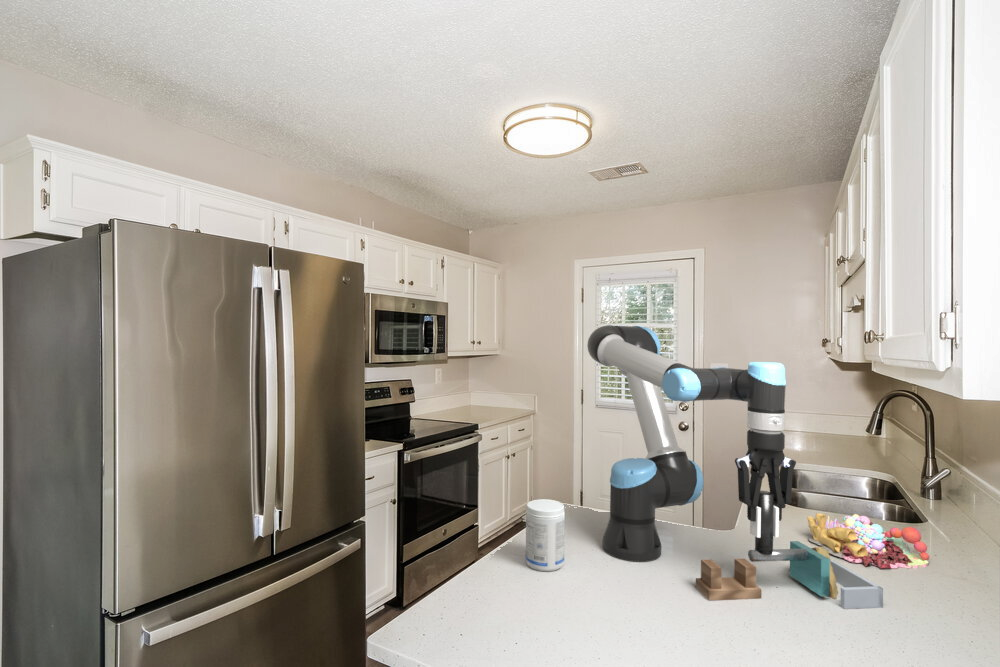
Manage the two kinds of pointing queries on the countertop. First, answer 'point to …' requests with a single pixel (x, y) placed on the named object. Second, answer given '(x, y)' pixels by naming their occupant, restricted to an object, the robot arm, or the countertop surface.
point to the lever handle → (790, 552)
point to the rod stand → (728, 581)
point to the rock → (832, 585)
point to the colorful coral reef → (868, 542)
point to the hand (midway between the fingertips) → (764, 534)
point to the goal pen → (856, 589)
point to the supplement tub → (545, 534)
